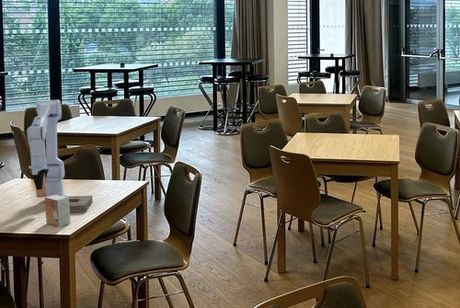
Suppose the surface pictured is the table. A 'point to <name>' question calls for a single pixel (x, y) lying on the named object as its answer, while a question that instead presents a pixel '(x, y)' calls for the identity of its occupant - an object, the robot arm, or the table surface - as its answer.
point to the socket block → (79, 203)
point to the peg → (42, 192)
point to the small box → (57, 210)
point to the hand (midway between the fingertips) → (40, 188)
